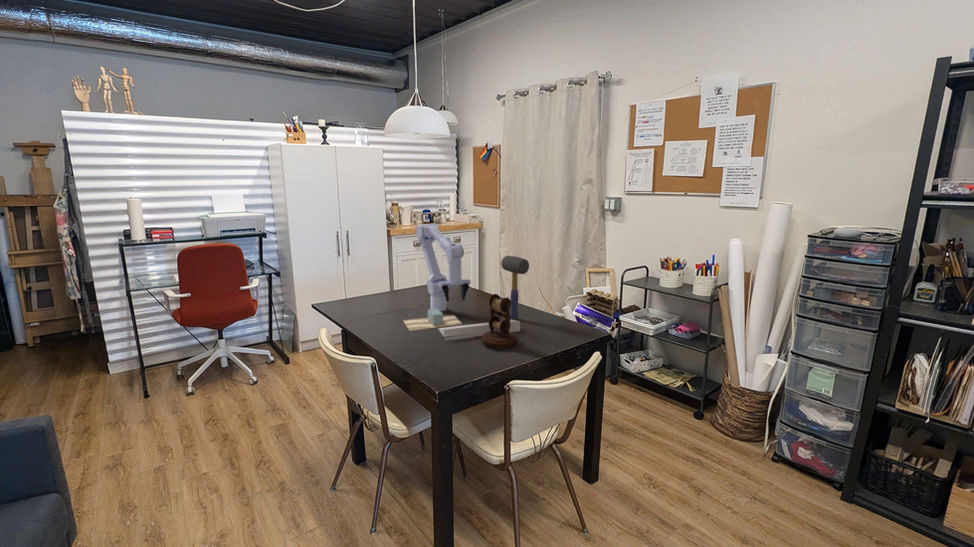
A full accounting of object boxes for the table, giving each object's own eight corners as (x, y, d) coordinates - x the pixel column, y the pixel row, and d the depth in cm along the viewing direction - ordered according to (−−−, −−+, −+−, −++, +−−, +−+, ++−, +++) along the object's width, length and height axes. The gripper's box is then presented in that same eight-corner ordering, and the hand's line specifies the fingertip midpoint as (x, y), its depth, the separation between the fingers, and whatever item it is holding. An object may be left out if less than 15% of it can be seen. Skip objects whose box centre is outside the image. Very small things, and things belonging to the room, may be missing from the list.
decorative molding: (439, 339, 196) (444, 341, 187) (438, 328, 196) (443, 329, 187) (511, 330, 208) (520, 331, 198) (510, 319, 208) (519, 320, 198)
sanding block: (427, 320, 207) (427, 310, 206) (437, 319, 209) (436, 308, 208) (433, 325, 200) (433, 315, 199) (443, 324, 202) (443, 313, 201)
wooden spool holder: (525, 344, 184) (526, 296, 179) (497, 353, 175) (497, 303, 170) (501, 334, 195) (501, 289, 190) (473, 342, 186) (473, 294, 181)
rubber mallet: (499, 317, 216) (500, 255, 209) (510, 314, 221) (511, 253, 214) (517, 324, 207) (519, 259, 200) (529, 320, 212) (530, 257, 205)
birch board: (403, 323, 207) (403, 320, 207) (453, 317, 215) (453, 314, 215) (409, 333, 194) (409, 330, 194) (462, 327, 203) (462, 324, 202)
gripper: (442, 274, 201) (442, 304, 204) (472, 272, 206) (472, 301, 210) (437, 271, 208) (438, 300, 211) (467, 269, 213) (467, 297, 216)
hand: (455, 300), depth 211 cm, fingers open, 7 cm apart
